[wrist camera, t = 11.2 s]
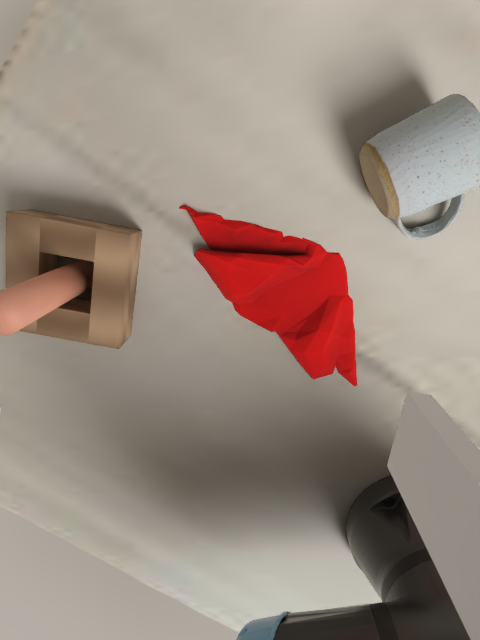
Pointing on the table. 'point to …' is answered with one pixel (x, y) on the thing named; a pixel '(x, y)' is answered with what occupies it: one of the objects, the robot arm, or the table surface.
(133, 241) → the square frame
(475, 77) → the table surface
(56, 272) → the dowel
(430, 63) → the table surface
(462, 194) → the ceramic mug
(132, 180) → the table surface
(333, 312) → the cloth
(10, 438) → the table surface
